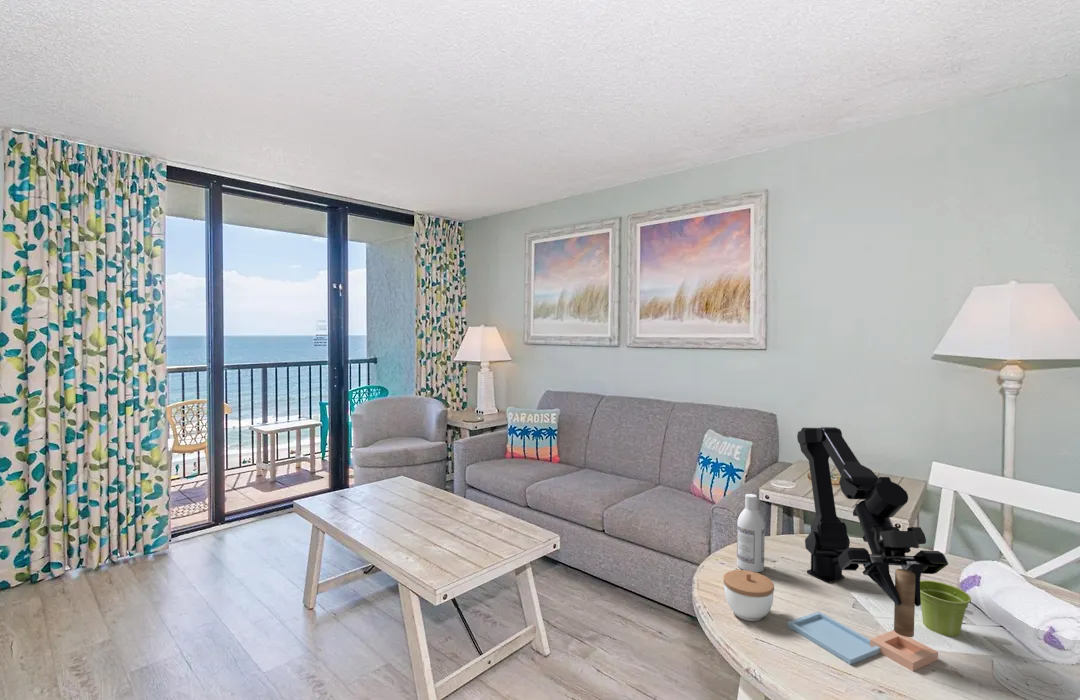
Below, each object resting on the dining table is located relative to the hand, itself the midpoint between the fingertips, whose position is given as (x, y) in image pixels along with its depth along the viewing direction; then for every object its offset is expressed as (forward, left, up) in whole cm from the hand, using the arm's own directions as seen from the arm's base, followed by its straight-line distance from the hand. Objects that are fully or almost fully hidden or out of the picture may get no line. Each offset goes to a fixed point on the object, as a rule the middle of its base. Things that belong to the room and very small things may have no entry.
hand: (908, 605), depth 97 cm
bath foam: (-42, +3, -11) cm, 44 cm away
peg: (-1, +1, -6) cm, 6 cm away
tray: (-10, -7, -11) cm, 17 cm away
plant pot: (-3, +18, -11) cm, 21 cm away
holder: (-1, +1, -11) cm, 11 cm away
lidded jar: (-25, -15, -11) cm, 32 cm away
